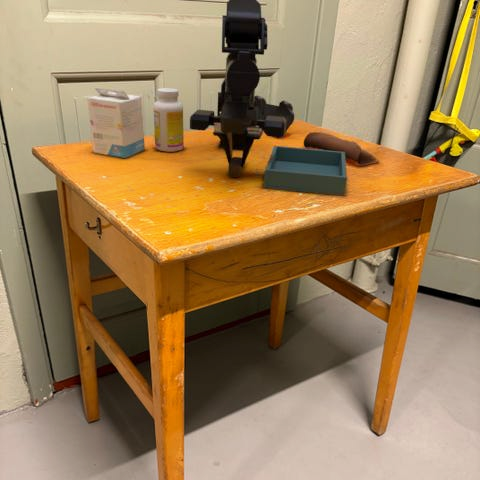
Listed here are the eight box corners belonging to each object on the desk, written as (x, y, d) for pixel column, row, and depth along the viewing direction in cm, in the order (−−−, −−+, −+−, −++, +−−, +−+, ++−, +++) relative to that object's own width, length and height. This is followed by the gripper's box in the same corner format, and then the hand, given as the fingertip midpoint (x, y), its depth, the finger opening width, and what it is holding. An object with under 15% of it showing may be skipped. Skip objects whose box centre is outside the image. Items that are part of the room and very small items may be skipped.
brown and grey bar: (238, 177, 105) (239, 165, 104) (227, 176, 106) (228, 164, 104) (246, 161, 115) (247, 150, 114) (236, 160, 115) (237, 149, 114)
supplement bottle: (188, 147, 124) (188, 89, 117) (176, 154, 119) (175, 93, 112) (162, 143, 126) (161, 86, 119) (149, 150, 120) (147, 90, 113)
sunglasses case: (381, 160, 121) (377, 136, 116) (362, 179, 120) (356, 156, 115) (326, 142, 133) (319, 119, 128) (307, 159, 131) (300, 137, 127)
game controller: (292, 145, 140) (305, 109, 138) (280, 137, 134) (294, 98, 133) (244, 134, 148) (256, 99, 147) (231, 125, 142) (243, 89, 141)
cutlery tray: (263, 188, 102) (265, 169, 100) (272, 161, 117) (274, 145, 116) (343, 195, 100) (347, 177, 98) (342, 168, 116) (344, 151, 114)
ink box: (145, 150, 120) (143, 87, 113) (124, 159, 113) (119, 93, 106) (115, 144, 123) (110, 83, 115) (92, 152, 116) (85, 87, 109)
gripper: (182, 88, 94) (183, 173, 102) (285, 96, 92) (277, 182, 101) (196, 79, 103) (195, 158, 112) (289, 86, 101) (282, 166, 110)
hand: (236, 166), depth 108 cm, fingers closed on brown and grey bar, 2 cm apart
